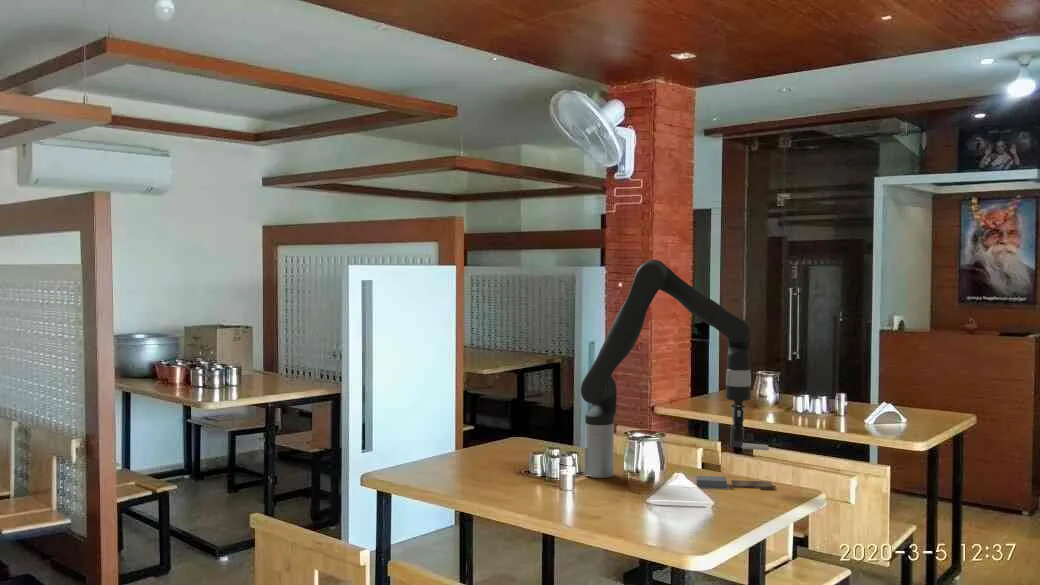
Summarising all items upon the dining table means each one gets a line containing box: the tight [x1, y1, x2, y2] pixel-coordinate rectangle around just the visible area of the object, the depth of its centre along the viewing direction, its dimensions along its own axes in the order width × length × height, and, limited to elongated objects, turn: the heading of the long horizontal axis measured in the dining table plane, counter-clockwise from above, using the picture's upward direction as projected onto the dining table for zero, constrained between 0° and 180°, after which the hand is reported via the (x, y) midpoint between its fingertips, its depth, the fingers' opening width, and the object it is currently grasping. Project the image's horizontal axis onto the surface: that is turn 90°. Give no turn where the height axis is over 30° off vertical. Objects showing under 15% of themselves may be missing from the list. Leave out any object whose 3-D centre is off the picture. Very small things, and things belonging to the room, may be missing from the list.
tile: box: [695, 475, 728, 488], centre depth 276 cm, size 2×6×9 cm
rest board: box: [731, 479, 774, 491], centre depth 276 cm, size 12×7×1 cm, turn 80°
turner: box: [729, 424, 770, 451], centre depth 274 cm, size 6×11×6 cm, turn 78°
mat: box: [692, 481, 731, 490], centre depth 276 cm, size 14×8×1 cm, turn 80°
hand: (737, 439), depth 275 cm, fingers closed on turner, 3 cm apart
